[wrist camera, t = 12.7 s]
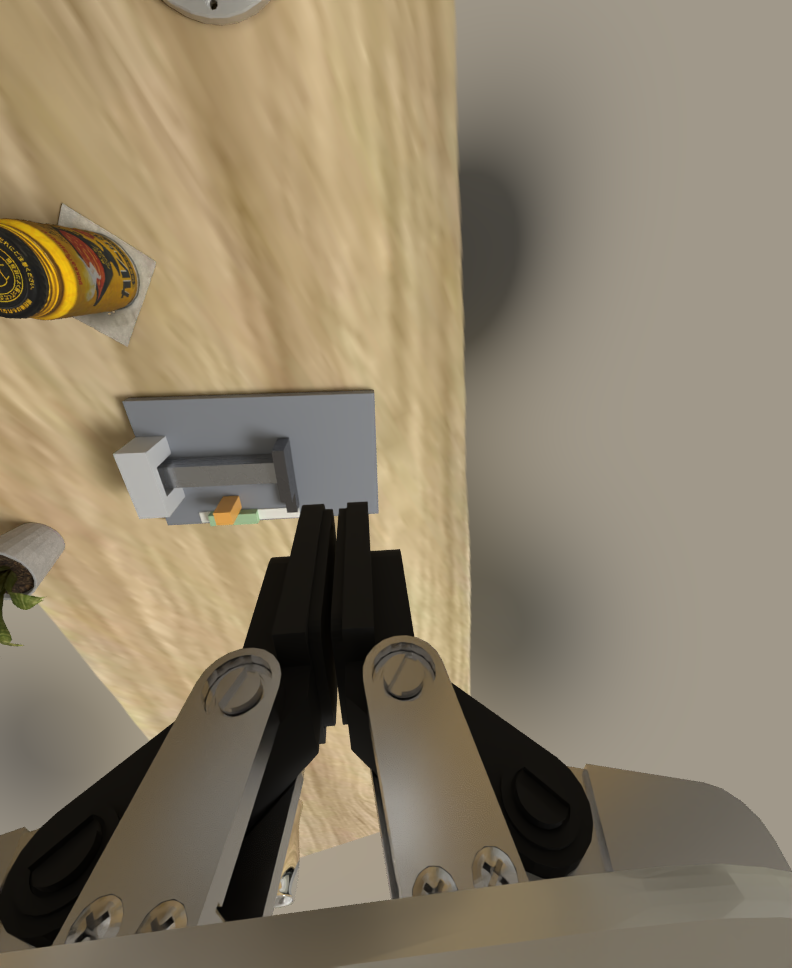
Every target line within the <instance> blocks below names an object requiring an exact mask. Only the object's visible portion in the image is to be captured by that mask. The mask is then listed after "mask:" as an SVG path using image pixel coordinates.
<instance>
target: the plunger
mask: <svg viewBox="0 0 792 968" xmlns="http://www.w3.org/2000/svg"><path fill="white" fill-rule="evenodd" d="M271 453H272V454H254V455H231V456H208V457H185V458H166V459H165V460H164V461H163V462H162V463H161V464H160V465H159V466H158V467H157V470H158V473H159V476H160V479H161V481H162V484H163V487H164V489H167V488H188V487H208V486H228V485H248V484H268V483H277V485H278V490H279V496H280V501H281V502H285V504H286V509H287V513H295V512H298V509H299V498H298V492H297V485H296V479H295V473H294V466H293V460H292V453H291V447H290V441H289V438H278V439H277V441H276V443H275V445H274V447H273V449H272V451H271Z"/></svg>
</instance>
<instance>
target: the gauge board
mask: <svg viewBox="0 0 792 968" xmlns="http://www.w3.org/2000/svg"><path fill="white" fill-rule="evenodd" d="M122 402H123V405H124V408H125V410H126V413H127V416H128V418H129V421H130V424H131V426H132V429H133V432H134V435H135V438H134V439H132V440H131V441H130V442H128V443H127V444H126V445H124V446H123V447H122V448H120V449H119V450H118V451H116V452H115V453H113V456H114V458H115V461H116V463H117V465H118V468H119V470H120V473H121V475H122V478H123V480H124V482H125V485H126V487H127V490H128V492H129V495H130V497H131V500H132V502H133V504H134V507H135V509H136V512H137V514H138V517H139V519H145V518H163V517H165V518H166V521H167V524H168V525H181V524H199V523H210V525H211V526H216V522H215V519H214V515H213V512H214V511H215V509H216V507H217V506H218V504H219V502H220V501H221V499H222V497H223V496H239V498H240V502H241V506H242V508H241V510H240V512H239V514H238V516H237V518H236V520H235V522H234V524H233V525H240V524H257V523H258V522H259V520H269V519H287V518H299V516H300V512H301V508H302V505H311V504H324V505H325V509H333V513H334V516H338V514H339V508H347V502H366V501H368V514H375V513H378V485H377V457H376V429H375V401H374V390H365V391H334V392H302V393H271V394H239V395H208V396H176V397H144V398H128V399H126V400H124V401H122ZM278 438H289V441H290V447H291V453H292V460H293V466H294V473H295V479H296V485H297V492H298V498H299V509H298V512H295V513H287V509H286V504H285V502H281V501H280V496H279V490H278V485H277V483H268V484H248V485H228V486H208V487H188V488H167V489H164V487H163V484H162V481H161V479H160V476H159V473H158V470H157V467H158V466H159V465H160V464H161V463H162V462H163V461H164V460H165V459H166V458H185V457H208V456H231V455H254V454H272V453H271V451H272V449H273V447H274V445H275V443H276V441H277V439H278ZM217 526H222V525H217Z"/></svg>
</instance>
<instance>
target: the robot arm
mask: <svg viewBox="0 0 792 968" xmlns="http://www.w3.org/2000/svg"><path fill="white" fill-rule="evenodd" d="M162 1H164V2H165V3H166V4H167V5H168V6H170V7H171V8H173V9H175V10H176V11H178V12H180V13H181V14H183V15H184V16H186V17H188V18H191V19H194V20H197V21H199V22H202V23H205V24H214V25H228V24H234V23H240V22H242V21H244V20H246V19H248V18H250V17H252V16H254V15H255V14H257V13H258V12H259V11H260V10H261V9H262V8H263V7H264V6H266V5H267V4H268V3H269V1H270V0H162ZM213 4H217V5H218V6H217V8H216V9H215V10H212V5H213ZM337 687H338V692H339V700H340V707H341V714H342V722H343V725H345V724H348V727H349V735H350V743H351V750H352V751H353V752H354V753H355V754H356V755H357V756H358V757H359V758H360V759H361V760H362V761H363V762H364V763H365V764H366V765H367V766H368V767H369V768H370V772H371V779H372V785H373V791H374V797H375V803H376V810H377V816H378V822H379V828H380V834H381V841H382V847H383V852H384V859H385V865H386V871H387V878H388V884H389V890H390V896H391V900H385V901H377V902H370V903H363V904H355V905H348V906H340V907H333V908H325V909H318V910H310V911H303V912H296V913H288V914H281V915H274V916H272V914H273V910H274V905H275V901H276V897H277V892H278V888H279V884H280V879H281V875H282V871H283V866H284V862H285V858H286V854H287V849H288V845H289V841H290V836H291V832H292V828H293V823H294V819H295V815H296V810H297V806H298V802H299V797H300V793H301V789H302V784H303V780H304V770H305V767H306V766H307V765H308V764H309V763H310V762H311V761H312V760H313V759H314V757H315V756H316V755H317V754H318V753H319V744H324V743H325V741H326V726H335V724H336V709H337ZM0 968H792V871H791V868H790V867H789V865H788V863H787V861H786V859H785V858H784V856H783V854H782V852H781V850H780V849H779V847H778V845H777V843H776V841H775V840H774V838H773V837H772V835H771V834H770V833H769V831H768V830H767V828H766V827H765V825H764V824H763V822H762V821H761V820H760V818H759V817H758V816H756V815H755V814H754V813H753V812H752V811H751V810H750V809H749V808H748V807H747V806H746V805H745V804H744V803H743V802H742V801H741V800H739V799H738V798H736V797H734V796H733V795H731V794H730V793H728V792H727V791H725V790H724V789H722V788H719V787H716V786H713V785H710V784H707V783H704V782H697V781H691V780H685V779H679V778H672V777H666V776H659V775H654V774H647V773H641V772H635V771H629V770H622V769H616V768H609V767H604V766H597V765H591V764H586V765H585V767H584V769H581V768H575V767H569V766H566V765H565V764H563V763H562V762H561V761H560V760H559V759H558V758H557V757H556V756H554V755H553V754H551V753H550V752H548V751H547V750H545V749H544V748H543V747H541V746H540V745H539V744H537V743H536V742H534V741H533V740H531V739H530V738H529V737H527V736H526V735H525V734H523V733H522V732H520V731H519V730H517V729H516V728H515V727H513V726H512V725H510V724H509V723H508V722H506V721H504V720H503V719H502V718H500V717H499V716H498V715H496V714H495V713H494V712H492V711H491V710H489V709H488V708H486V707H485V706H484V705H482V704H481V703H479V702H478V701H477V700H475V699H474V698H472V697H471V696H470V695H468V694H467V693H465V692H464V691H463V690H461V689H460V688H458V687H457V686H455V685H454V684H453V683H451V681H450V679H449V676H448V674H447V671H446V669H445V666H444V664H443V661H442V659H441V658H440V656H439V654H438V652H437V651H436V650H435V649H434V648H433V647H432V646H431V645H430V644H429V643H427V642H425V641H423V640H421V639H419V638H417V637H414V632H413V626H412V619H411V613H410V607H409V600H408V594H407V588H406V582H405V575H404V569H403V563H402V556H401V551H400V549H397V550H382V551H370V535H369V516H368V501H366V502H347V508H339V514H338V528H337V541H336V532H335V523H334V513H333V509H325V505H324V504H311V505H302V508H301V512H300V516H299V520H298V525H297V529H296V533H295V537H294V542H293V546H292V550H291V554H290V556H288V557H273V558H271V559H270V562H269V564H268V567H267V570H266V574H265V577H264V580H263V584H262V587H261V590H260V594H259V597H258V600H257V603H256V607H255V610H254V613H253V617H252V620H251V623H250V627H249V630H248V633H247V637H246V640H245V643H244V646H243V649H239V650H236V651H233V652H230V653H228V654H226V655H224V656H223V657H221V658H219V659H218V660H216V661H215V662H214V663H213V664H211V665H210V666H209V667H208V668H207V669H206V670H205V671H204V672H203V674H202V675H201V676H200V678H199V679H198V681H197V682H196V684H195V686H194V687H193V689H192V691H191V693H190V695H189V697H188V698H187V700H186V702H185V704H184V706H183V707H182V709H181V711H180V713H179V715H178V717H177V718H176V720H175V722H173V723H172V724H171V725H169V726H168V727H167V728H166V729H164V730H163V731H162V732H160V733H159V734H158V735H157V736H155V737H154V738H153V739H151V740H150V741H149V742H148V743H147V744H145V745H144V746H142V747H141V748H140V749H139V750H137V751H136V752H135V753H133V754H132V755H131V756H130V757H128V758H127V759H126V760H124V761H123V762H122V763H121V764H119V765H118V766H117V767H115V768H114V769H113V770H112V771H110V772H109V773H108V774H106V775H105V776H104V777H103V778H101V779H100V780H99V781H97V782H96V783H95V784H94V785H92V786H91V787H90V788H88V789H87V790H86V791H84V792H83V793H82V794H81V795H79V796H78V797H77V798H75V799H74V800H73V801H72V802H70V803H69V804H68V805H66V806H65V807H64V808H63V809H61V810H60V811H59V812H57V813H56V814H55V815H54V816H53V817H52V818H51V819H50V820H49V821H48V822H46V823H45V824H44V825H43V826H42V827H41V828H39V829H37V830H34V831H31V832H30V831H29V830H28V829H26V828H25V827H23V828H20V829H17V830H14V831H11V832H8V833H5V834H3V835H0Z"/></svg>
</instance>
